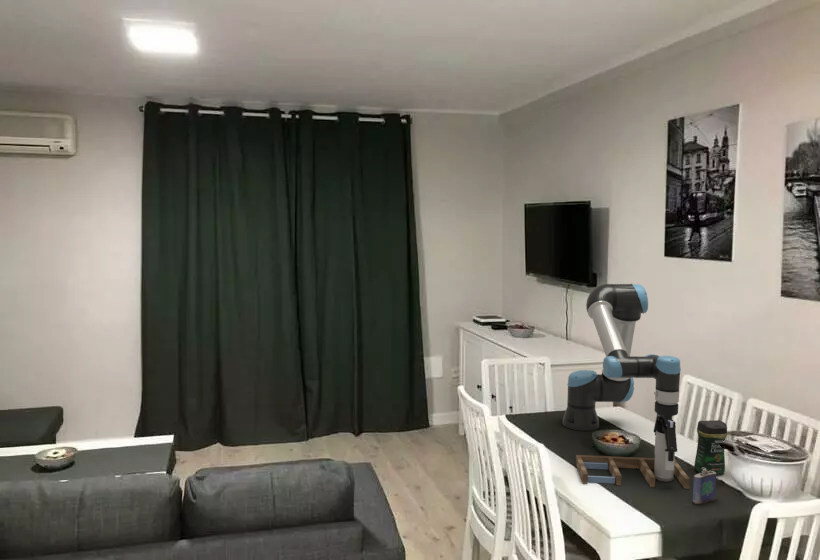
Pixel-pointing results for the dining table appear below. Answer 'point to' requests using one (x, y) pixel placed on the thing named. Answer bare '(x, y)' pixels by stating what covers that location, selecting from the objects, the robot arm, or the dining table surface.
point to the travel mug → (661, 456)
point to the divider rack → (628, 462)
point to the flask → (704, 486)
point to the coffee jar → (710, 446)
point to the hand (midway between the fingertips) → (663, 462)
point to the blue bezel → (598, 478)
